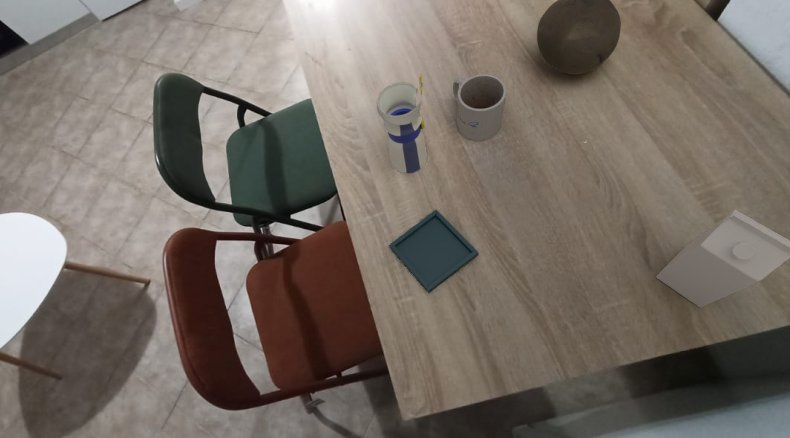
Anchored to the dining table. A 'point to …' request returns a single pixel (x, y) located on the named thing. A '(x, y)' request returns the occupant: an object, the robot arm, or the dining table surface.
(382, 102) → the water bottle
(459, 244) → the tray
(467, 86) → the mug
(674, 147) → the dining table surface
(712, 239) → the milk carton
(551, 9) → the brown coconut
